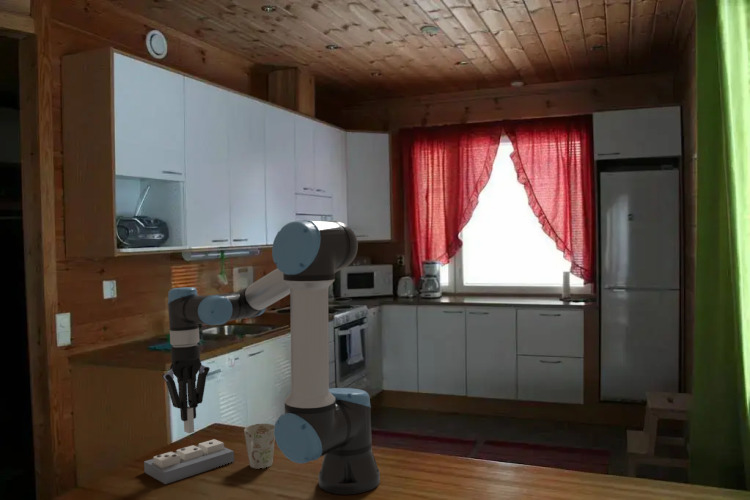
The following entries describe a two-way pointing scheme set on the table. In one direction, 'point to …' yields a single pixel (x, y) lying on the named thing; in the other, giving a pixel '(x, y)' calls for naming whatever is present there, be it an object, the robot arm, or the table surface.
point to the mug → (260, 445)
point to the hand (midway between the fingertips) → (189, 431)
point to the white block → (211, 446)
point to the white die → (190, 453)
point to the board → (189, 466)
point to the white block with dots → (166, 460)
